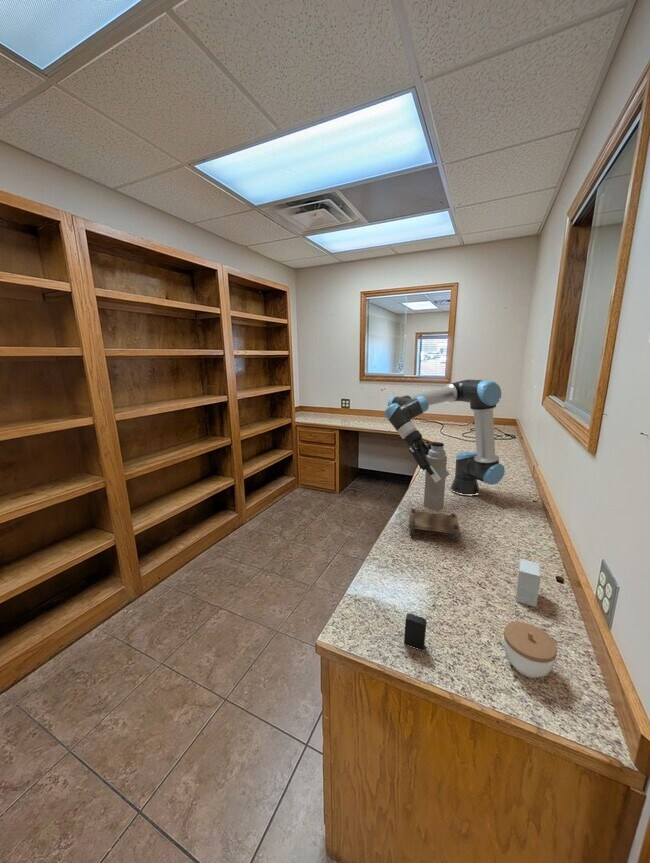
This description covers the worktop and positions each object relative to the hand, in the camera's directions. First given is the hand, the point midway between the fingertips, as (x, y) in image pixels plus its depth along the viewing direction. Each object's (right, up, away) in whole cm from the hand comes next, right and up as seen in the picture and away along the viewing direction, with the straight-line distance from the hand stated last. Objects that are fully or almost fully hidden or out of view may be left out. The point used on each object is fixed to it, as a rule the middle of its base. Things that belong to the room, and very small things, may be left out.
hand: (443, 478), depth 134 cm
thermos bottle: (-2, -13, +5) cm, 14 cm away
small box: (+14, -33, -32) cm, 48 cm away
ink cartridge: (-25, -37, -49) cm, 66 cm away
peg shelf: (-2, -25, +7) cm, 26 cm away
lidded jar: (0, -38, -56) cm, 67 cm away
